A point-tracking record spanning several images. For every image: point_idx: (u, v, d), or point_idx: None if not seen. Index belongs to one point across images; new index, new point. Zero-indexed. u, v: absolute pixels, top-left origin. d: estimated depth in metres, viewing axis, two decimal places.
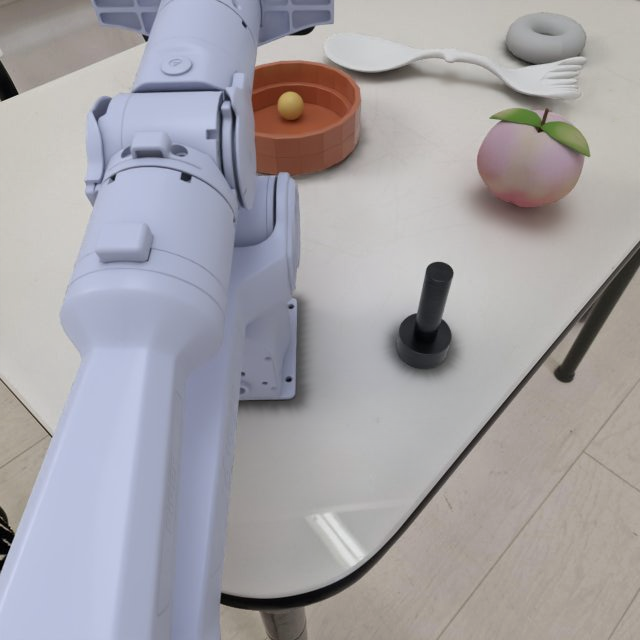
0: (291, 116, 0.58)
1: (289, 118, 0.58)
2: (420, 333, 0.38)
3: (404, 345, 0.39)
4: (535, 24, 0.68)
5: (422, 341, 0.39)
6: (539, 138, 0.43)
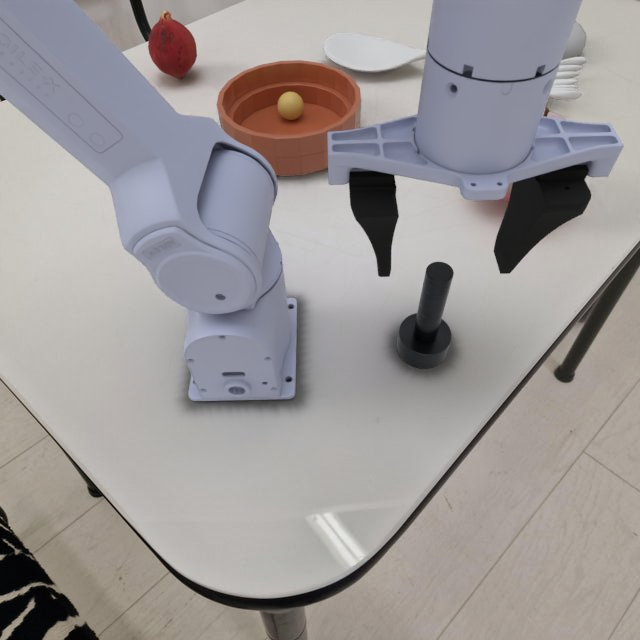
0: (291, 116, 0.58)
1: (289, 118, 0.58)
2: (420, 333, 0.38)
3: (404, 345, 0.39)
4: None
5: (422, 341, 0.39)
6: None
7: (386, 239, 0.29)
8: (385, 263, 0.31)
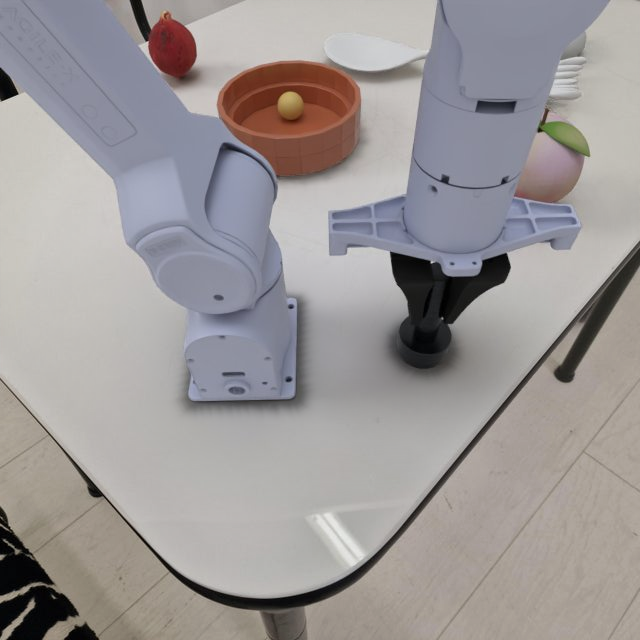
0: (291, 116, 0.58)
1: (289, 118, 0.58)
2: (420, 333, 0.38)
3: (404, 345, 0.39)
4: None
5: (422, 341, 0.39)
6: (539, 138, 0.43)
7: (420, 297, 0.33)
8: (417, 315, 0.35)
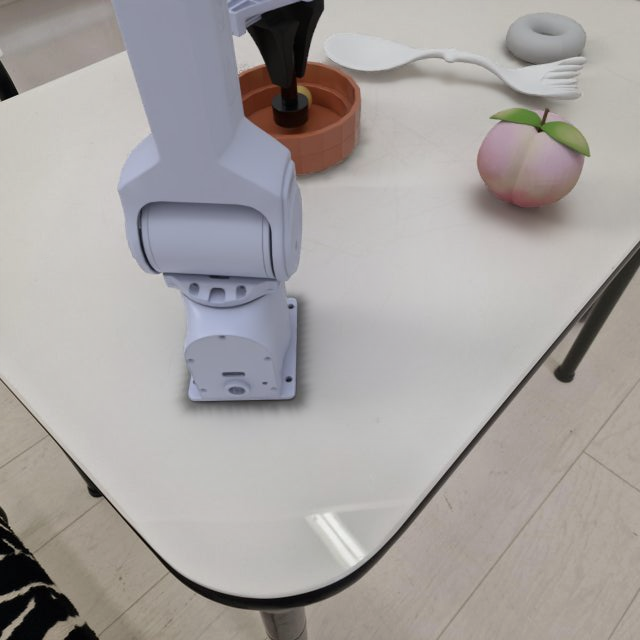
0: None
1: None
2: (291, 97, 0.54)
3: (288, 112, 0.55)
4: (535, 24, 0.68)
5: (294, 104, 0.55)
6: (539, 138, 0.43)
7: (290, 50, 0.49)
8: (290, 72, 0.51)
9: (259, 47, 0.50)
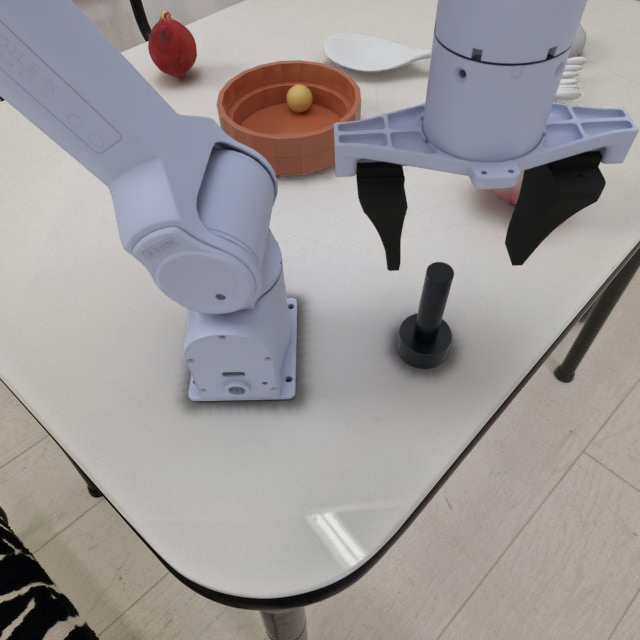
0: (301, 97, 0.58)
1: (298, 98, 0.58)
2: (420, 333, 0.38)
3: (405, 346, 0.39)
4: None
5: (423, 342, 0.39)
6: None
7: (395, 231, 0.28)
8: (394, 256, 0.31)
9: None
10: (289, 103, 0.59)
